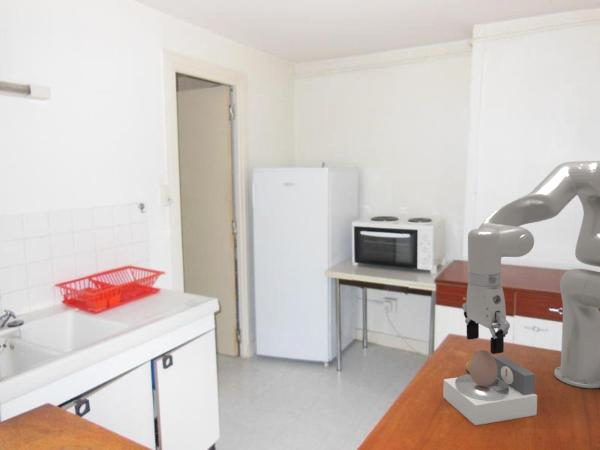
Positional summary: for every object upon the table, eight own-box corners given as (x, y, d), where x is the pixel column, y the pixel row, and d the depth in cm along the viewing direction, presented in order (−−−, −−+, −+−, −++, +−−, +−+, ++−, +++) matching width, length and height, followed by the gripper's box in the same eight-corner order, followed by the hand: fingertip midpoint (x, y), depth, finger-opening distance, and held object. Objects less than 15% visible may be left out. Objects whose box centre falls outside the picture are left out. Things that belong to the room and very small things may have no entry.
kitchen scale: (499, 388, 124) (500, 353, 123) (536, 414, 111) (538, 375, 110) (443, 397, 120) (443, 361, 119) (475, 425, 107) (475, 385, 106)
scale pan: (487, 374, 122) (487, 371, 122) (520, 396, 110) (520, 393, 110) (445, 380, 119) (445, 377, 119) (474, 403, 107) (474, 400, 107)
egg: (492, 379, 117) (492, 345, 116) (501, 392, 111) (502, 356, 110) (465, 379, 118) (466, 345, 117) (473, 391, 111) (473, 355, 110)
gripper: (522, 285, 104) (521, 356, 106) (476, 270, 121) (476, 331, 123) (493, 289, 102) (493, 361, 104) (451, 273, 119) (451, 335, 121)
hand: (484, 345), depth 114 cm, fingers open, 9 cm apart
